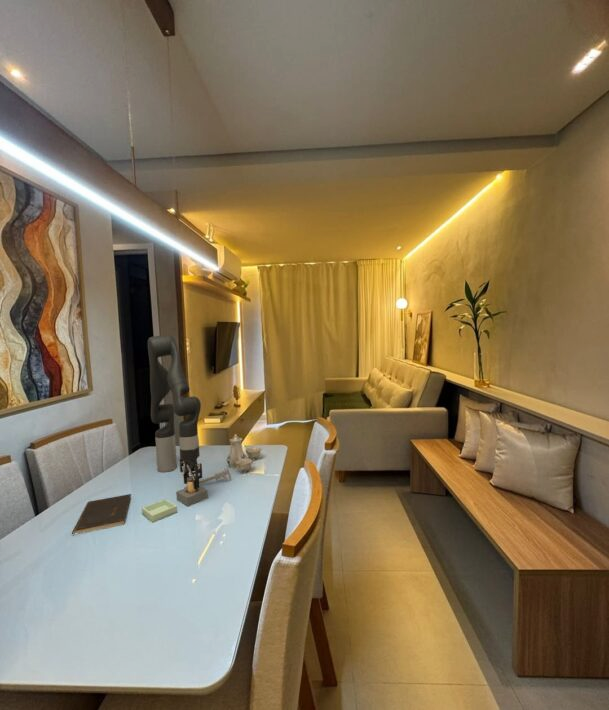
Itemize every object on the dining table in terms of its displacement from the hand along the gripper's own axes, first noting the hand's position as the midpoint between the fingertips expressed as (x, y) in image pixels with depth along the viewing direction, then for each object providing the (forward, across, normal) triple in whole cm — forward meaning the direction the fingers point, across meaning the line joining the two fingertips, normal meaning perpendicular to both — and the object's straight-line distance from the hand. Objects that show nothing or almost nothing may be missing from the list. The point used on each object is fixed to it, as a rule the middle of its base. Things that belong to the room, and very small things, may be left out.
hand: (191, 485), depth 140 cm
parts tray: (+6, +1, -14) cm, 15 cm away
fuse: (+6, 0, 0) cm, 6 cm away
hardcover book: (+6, -15, -28) cm, 32 cm away
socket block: (+6, 0, 0) cm, 6 cm away
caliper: (+6, -8, +12) cm, 16 cm away
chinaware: (+6, -15, +36) cm, 40 cm away
